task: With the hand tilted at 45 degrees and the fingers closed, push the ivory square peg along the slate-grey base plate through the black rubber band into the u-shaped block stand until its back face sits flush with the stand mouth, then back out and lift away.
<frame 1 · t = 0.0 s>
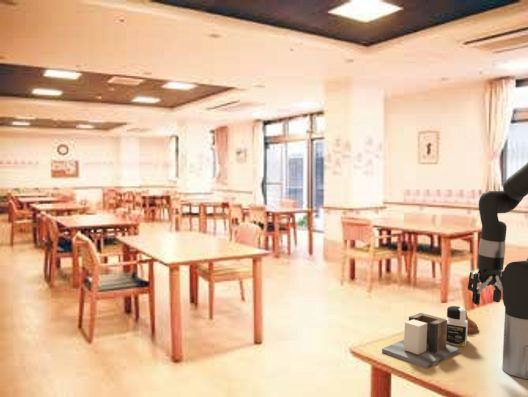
hand: (486, 302, 151), 17 cm above the table, tool pointing down, fingers open, 8 cm apart
peg: (415, 336, 151), point 6 cm above the table, slide at 0.0 cm
medicine bottle: (455, 341, 164), on the table
u-shaped block stand: (420, 352, 154), on the table
bell: (460, 329, 178), on the table
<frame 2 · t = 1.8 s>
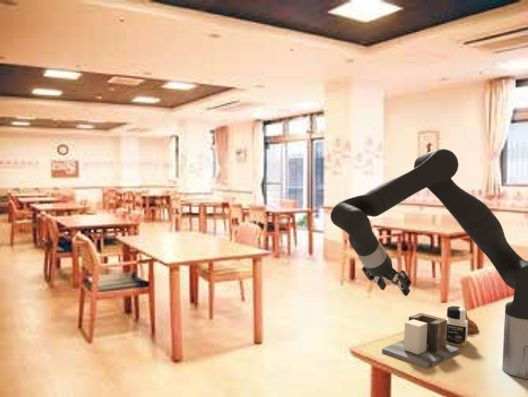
hand: (395, 290, 143), 23 cm above the table, tool tilted 45°, fingers open, 7 cm apart
nothing on the table moved.
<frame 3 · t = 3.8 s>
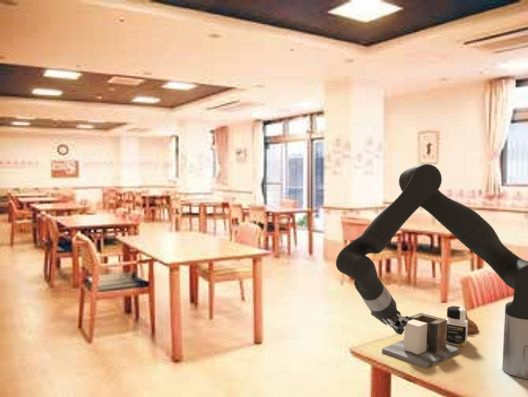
hand: (400, 331, 145), 10 cm above the table, tool tilted 45°, fingers closed
nothing on the table moved.
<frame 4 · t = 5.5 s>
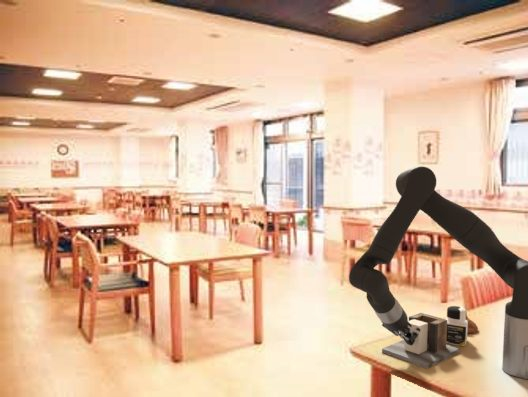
hand: (411, 342, 150), 5 cm above the table, tool tilted 45°, fingers closed
peg: (416, 336, 152), point 6 cm above the table, slide at 0.3 cm, touching gripper
everything else where it was.
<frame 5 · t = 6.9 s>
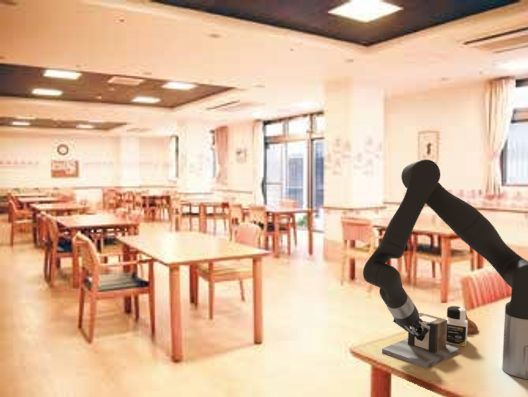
hand: (421, 338, 154), 5 cm above the table, tool tilted 45°, fingers closed
peg: (425, 332, 156), point 6 cm above the table, slide at 6.3 cm, touching gripper
everything else where it was.
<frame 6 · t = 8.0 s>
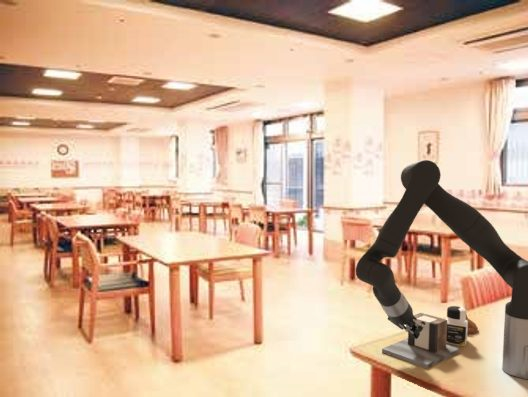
hand: (416, 336, 152), 6 cm above the table, tool tilted 45°, fingers closed
peg: (425, 332, 156), point 6 cm above the table, slide at 6.3 cm
everything else where it was.
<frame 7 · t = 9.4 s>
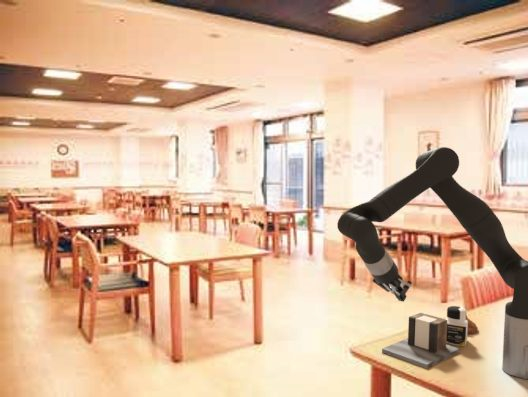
hand: (402, 298, 145), 20 cm above the table, tool tilted 45°, fingers closed
nothing on the table moved.
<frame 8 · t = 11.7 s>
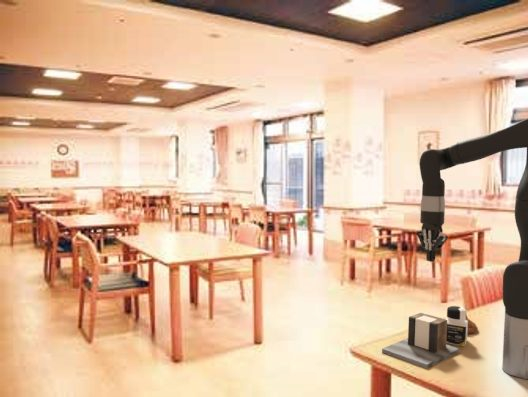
hand: (430, 261, 158), 29 cm above the table, tool pointing down, fingers closed
nothing on the table moved.
at the end: peg slide at 6.3 cm; medicine bottle moved 0.2 cm from its start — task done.
